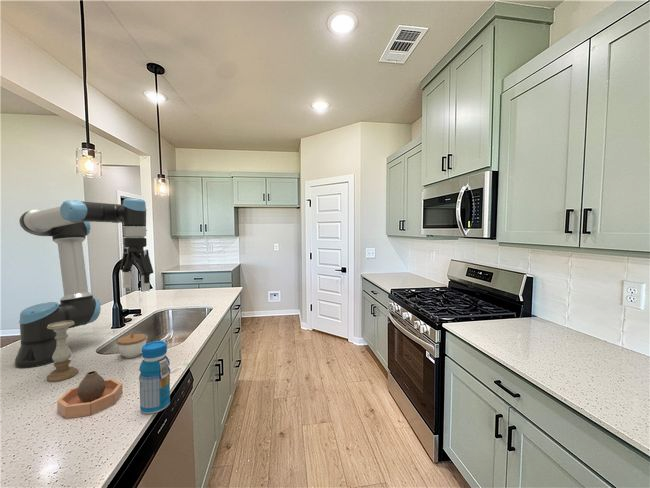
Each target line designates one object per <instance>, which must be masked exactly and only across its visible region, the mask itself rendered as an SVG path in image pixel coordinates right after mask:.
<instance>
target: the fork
mask: <svg viewBox="0 0 650 488" xmlns="http://www.w3.org/2000/svg"><path fill="white" fill-rule="evenodd" d="M191 360H192V359H190V358H186V359H185V360H184V361H183V362H182V363H180V364H179V365H178V366H175V367H174V368H173V369H170V375H171V374H172V373H174V372H175V371H177V370H182V369H184V368H186V367H187V366H188V365H189V364H190V363H191Z"/></svg>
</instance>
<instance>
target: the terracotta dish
mask: <svg viewBox="0 0 650 488" xmlns="http://www.w3.org/2000/svg"><path fill="white" fill-rule="evenodd" d="M104 381H105V390H104V393H103V394H102V396H101V397H100V398H99V399H97V400H94V401H92V402H87V403H86V402H83V401H81V400H80V399H79V397H78V387H79V385H78V386H75V387H73V388H70V389H68V390H67V391H66V392H65V393H63V394H62V396H61V397H59V398H58V399H57V400H56V401H57V402H56V404H57V408H56V409H57V410H56V411H57V413H58V414H60V415H61V416H62V417H63V418H64V419H72V418H79V417H81V418H82V417H87V416H92V415H94V414H97V413H98V412H101V411H103V410H105V409H108V408H109V407H112V406H114V405H115V404H116V403H117V402H118V400H119V399H120V398H121V397H122V395H123V383H122V382H120V381H119V380H117V379H115V378H106V379H105V378H104Z"/></svg>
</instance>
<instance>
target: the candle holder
mask: <svg viewBox="0 0 650 488" xmlns="http://www.w3.org/2000/svg"><path fill="white" fill-rule="evenodd" d="M74 324H75V322H74V321H60V322H55V323H51V324H49V325H48V326H47V329H54V332H56V337H55V338H54V339H56V341H57V345H56V349H55V351H54V353H53V356H52V359H53V361H54V362H53V366H54V368H55V369H54V370H52V371H51V372H50V373H49V374H48V375H47V376H46V381H48V382H50V383H53V382H60V381H65V380H67V379H70V378H73V377H75V376H76V375H77V374H78V373H79V370H78V368H76V367H74V366H69V365H70V363H71V359H70V358H71V357H72V354H73V353H72V350H71V349H70V348H69V346H68V342H67V339H68V337H69V334H67V331H68V330H69V329H70V328H69V327H70V326H72V325H74Z"/></svg>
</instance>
